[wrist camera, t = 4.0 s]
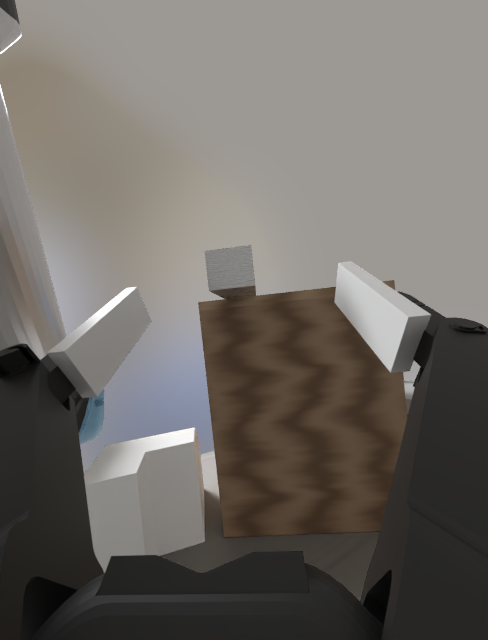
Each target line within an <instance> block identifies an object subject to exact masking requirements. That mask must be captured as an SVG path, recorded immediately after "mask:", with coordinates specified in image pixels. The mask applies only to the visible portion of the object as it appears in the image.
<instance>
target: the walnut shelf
mask: <svg viewBox="0 0 488 640" xmlns="http://www.w3.org/2000/svg"><path fill="white" fill-rule="evenodd" d="M383 283H385V284H386V285H388V286H389V287H391V288H392V289H394V290H395V285H394V280H392V281H383ZM335 291H336V287H330V288H322V289H313V290H304V291H295V292H286V293H277V294H268V295H260V296H251V297H242V298H233V299H224V300H215V301H207V302H199V303H198V304H199V313H200V321H201V330H202V340H203V350H204V358H205V368H206V376H207V385H208V394H209V404H210V413H211V422H212V431H213V440H214V449H215V458H216V467H217V476H218V485H219V495H220V504H221V513H222V522H223V531H224V537H248V536H273V535H298V534H324V533H349V532H374V531H380V530H381V526H382V522H383V518H384V513H385V509H386V505H387V501H388V497H389V492H390V488H391V484H392V480H393V476H394V472H395V467H396V463H397V459H398V455H399V451H400V447H401V442H402V438H403V434H404V430H405V426H406V421H407V408H406V398H405V388H404V378H403V372H393V373H390V371H389V370H388V369H387V368H386V366H385V365H384V364H383V363H382V361H381V360H380V359H379V358H378V356H377V355H376V354H375V353H374V351H373V350H372V349H371V348H370V346H369V345H368V344H367V343H366V341H365V340H364V339H363V338H362V336H361V335H360V334H359V333H358V331H357V330H356V329H355V327H354V326H353V325H352V324H351V322H350V321H349V320H348V319H347V317H346V316H345V315H344V314H343V312H342V311H341V310H340V309H339V307H338V306H337V305H336V304H335V302H334V300H335Z"/></svg>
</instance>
